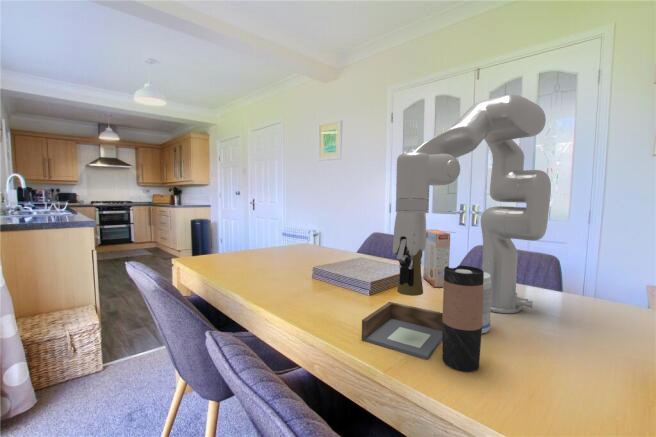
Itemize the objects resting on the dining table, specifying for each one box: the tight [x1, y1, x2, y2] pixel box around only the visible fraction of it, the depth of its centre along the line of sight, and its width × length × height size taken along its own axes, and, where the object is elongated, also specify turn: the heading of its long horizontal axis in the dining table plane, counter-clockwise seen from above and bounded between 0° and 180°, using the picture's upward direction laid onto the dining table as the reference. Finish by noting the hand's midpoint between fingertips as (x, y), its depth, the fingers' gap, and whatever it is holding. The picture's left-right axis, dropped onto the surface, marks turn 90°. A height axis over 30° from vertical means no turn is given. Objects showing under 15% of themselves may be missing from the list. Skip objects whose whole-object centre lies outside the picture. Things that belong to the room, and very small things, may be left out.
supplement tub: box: [482, 272, 492, 334], centre depth 83 cm, size 10×10×15 cm
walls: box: [361, 301, 443, 342], centre depth 78 cm, size 16×16×5 cm
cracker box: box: [422, 229, 451, 288], centre depth 125 cm, size 14×6×21 cm, turn 179°
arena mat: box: [362, 319, 442, 361], centre depth 78 cm, size 16×16×1 cm
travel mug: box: [441, 265, 484, 373], centre depth 66 cm, size 8×8×20 cm
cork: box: [396, 249, 424, 297], centre depth 75 cm, size 6×6×11 cm
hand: (410, 282), depth 75 cm, fingers closed on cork, 4 cm apart
